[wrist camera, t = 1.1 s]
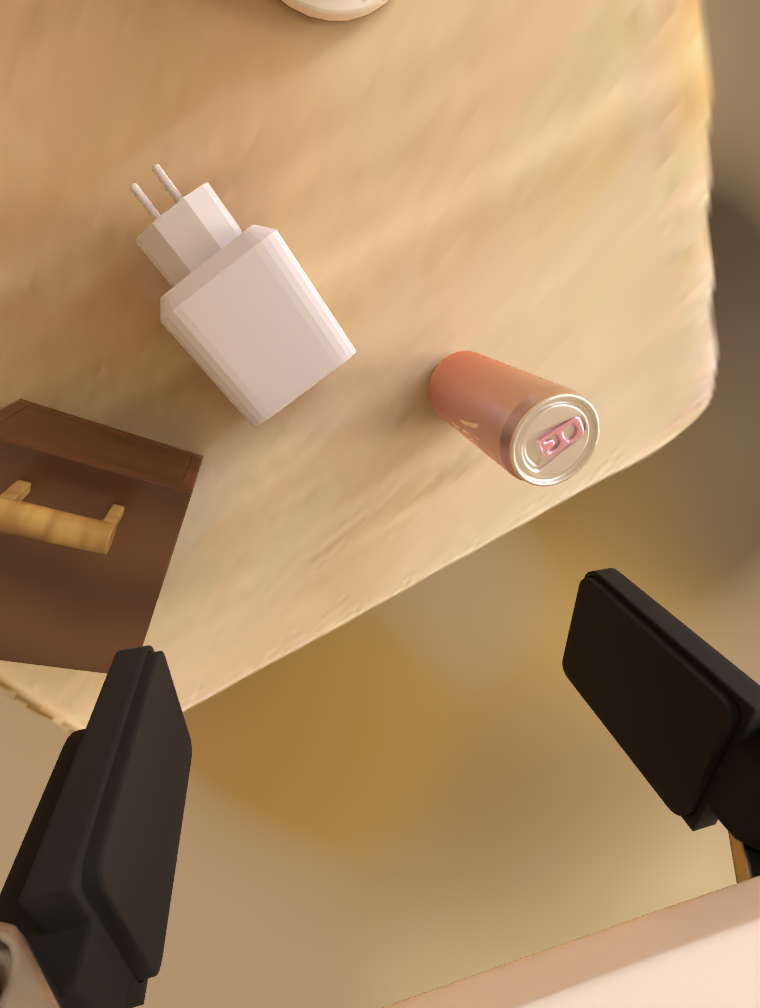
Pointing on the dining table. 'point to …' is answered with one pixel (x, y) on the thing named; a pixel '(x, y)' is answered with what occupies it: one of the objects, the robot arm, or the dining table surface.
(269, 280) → the charger
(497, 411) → the beverage can
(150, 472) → the box
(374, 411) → the dining table surface
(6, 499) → the lid
